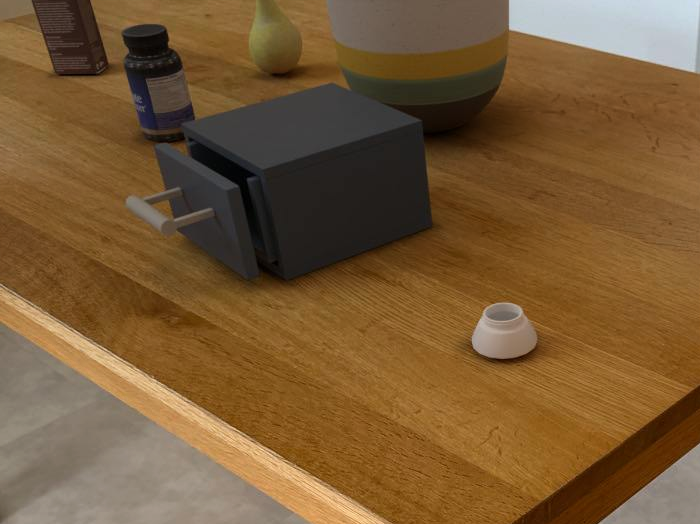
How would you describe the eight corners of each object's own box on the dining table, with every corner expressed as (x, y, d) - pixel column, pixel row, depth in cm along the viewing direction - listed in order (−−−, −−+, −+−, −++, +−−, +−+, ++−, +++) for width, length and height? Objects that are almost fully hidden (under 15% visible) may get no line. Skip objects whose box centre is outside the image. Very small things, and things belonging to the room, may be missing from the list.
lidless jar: (541, 359, 77) (531, 327, 80) (540, 325, 75) (530, 293, 78) (476, 366, 76) (469, 333, 80) (473, 331, 74) (466, 299, 78)
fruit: (310, 64, 134) (293, -38, 126) (300, 82, 128) (282, -23, 120) (260, 66, 134) (240, -36, 126) (248, 84, 128) (226, -21, 120)
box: (111, 65, 136) (81, -36, 128) (97, 75, 133) (66, -27, 125) (68, 65, 136) (36, -35, 129) (53, 75, 133) (19, -27, 125)
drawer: (195, 300, 83) (169, 207, 78) (126, 247, 91) (99, 160, 86) (389, 228, 93) (377, 142, 87) (312, 186, 101) (297, 105, 95)
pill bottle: (139, 130, 117) (109, 26, 109) (191, 120, 119) (166, 18, 111) (149, 147, 113) (119, 41, 105) (204, 136, 115) (178, 31, 107)
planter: (548, 113, 117) (543, -102, 103) (444, 169, 105) (423, -65, 91) (418, 86, 126) (398, -116, 112) (309, 135, 114) (270, -83, 100)
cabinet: (286, 281, 88) (262, 169, 81) (207, 228, 96) (180, 123, 90) (432, 226, 95) (422, 120, 89) (347, 182, 104) (332, 82, 97)
